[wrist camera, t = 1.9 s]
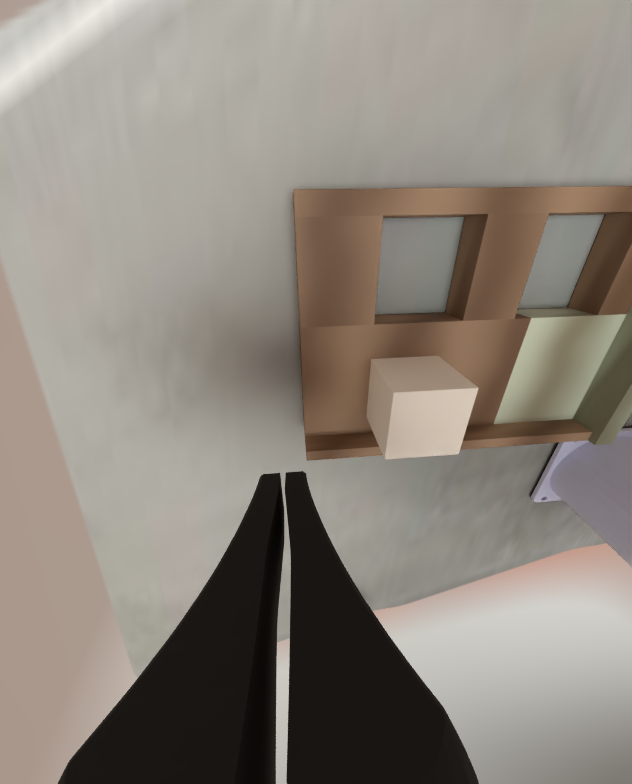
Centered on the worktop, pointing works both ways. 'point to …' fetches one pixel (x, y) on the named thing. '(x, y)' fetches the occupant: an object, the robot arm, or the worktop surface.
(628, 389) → the trap deck
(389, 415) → the cream block
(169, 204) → the worktop surface
